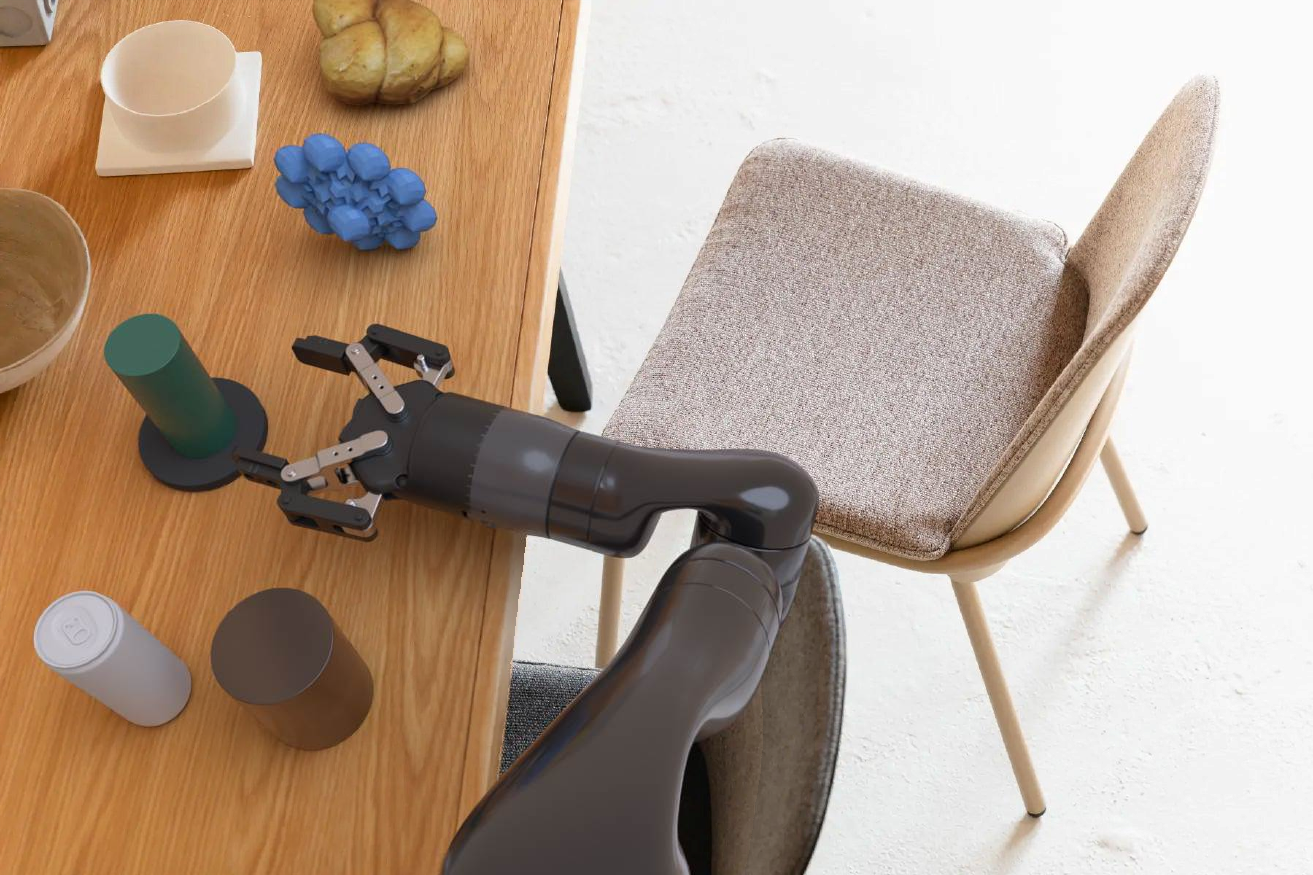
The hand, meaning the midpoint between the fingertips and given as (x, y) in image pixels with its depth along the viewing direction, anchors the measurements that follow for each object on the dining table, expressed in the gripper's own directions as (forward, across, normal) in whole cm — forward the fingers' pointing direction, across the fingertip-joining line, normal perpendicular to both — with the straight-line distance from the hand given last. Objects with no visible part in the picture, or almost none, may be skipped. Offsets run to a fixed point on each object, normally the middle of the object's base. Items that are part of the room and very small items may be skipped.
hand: (267, 402), depth 76 cm
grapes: (+3, -19, +9) cm, 21 cm away
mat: (+8, 0, +8) cm, 12 cm away
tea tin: (+8, 0, +8) cm, 11 cm away
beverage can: (+2, +18, +9) cm, 20 cm away
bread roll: (+9, -37, +9) cm, 39 cm away
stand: (-8, +15, +8) cm, 19 cm away
